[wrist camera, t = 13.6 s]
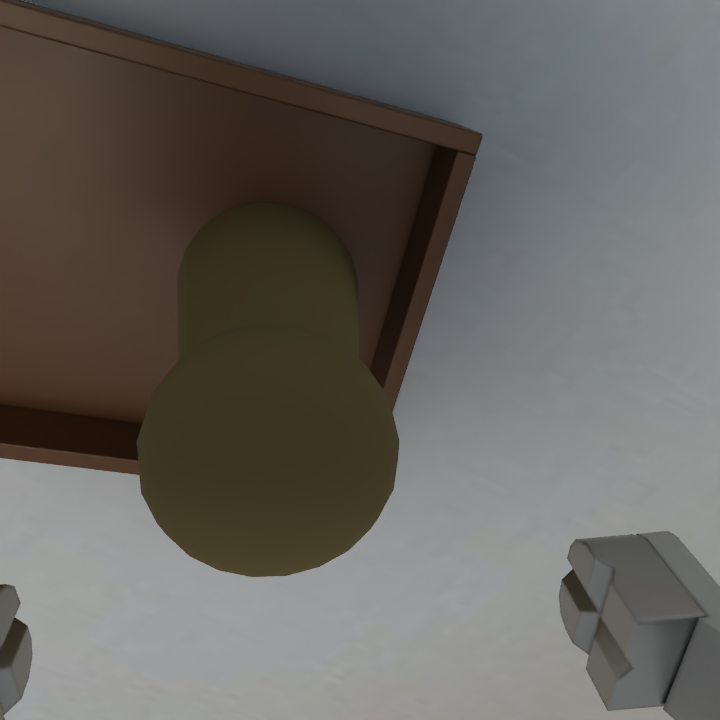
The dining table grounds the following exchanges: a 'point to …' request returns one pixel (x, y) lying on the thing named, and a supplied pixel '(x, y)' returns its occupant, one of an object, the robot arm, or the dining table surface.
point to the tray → (182, 214)
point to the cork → (267, 401)
